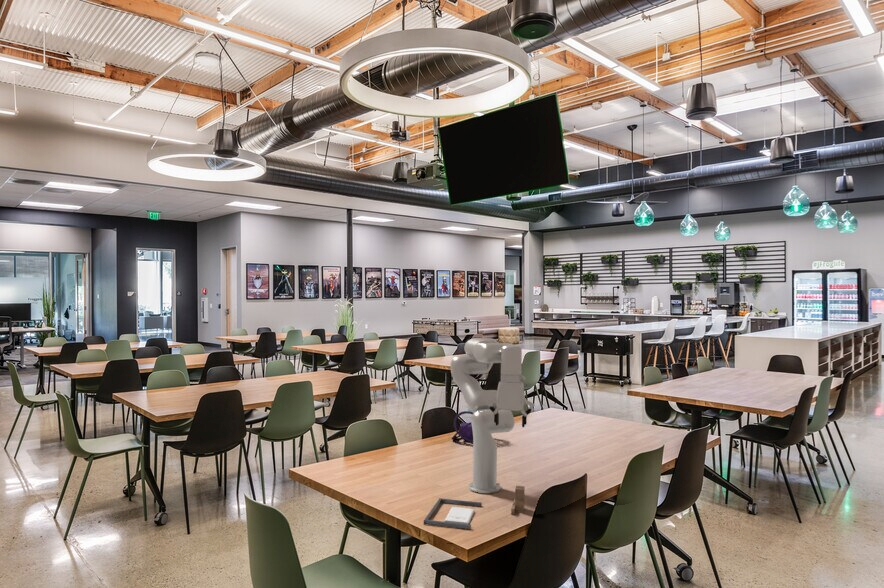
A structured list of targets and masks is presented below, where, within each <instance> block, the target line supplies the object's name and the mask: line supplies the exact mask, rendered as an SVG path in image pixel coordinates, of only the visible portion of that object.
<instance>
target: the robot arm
mask: <svg viewBox="0 0 884 588" xmlns="http://www.w3.org/2000/svg"><path fill="white" fill-rule="evenodd" d="M463 349H464V352H465V354H463V355H456V356H455V357H453V358H452V359H451V361H450V373H451V376H452V378H453V381H454V383H455V384H456V386H457V387H458V389H460V392H461V393H462V395H463V399H464V401H465V403H466V405H467V406H468V407H467V406H466V407H467V409H469V410H470V411H471V412H472V413H473V414H471V417H470V422H471V423H472V430H473V443H472V444H473V449H472V451H473V452H472V455H473V456H472V482H470V483H469V484H468V489H469V490H470V491H472V492H474V493H477V492H478V494H495V493H497V492H498V493H499V491H500V490H501V485H500V484H499V483H498V482H497V466H498V463H497V462H498V457H497V456H498V455H497V454H498V445H497V441H496V440H495V439H494V436H493V435H492V434H501V433H508V432H511V431H512V430H513V429H514V427H515V417H514V415H513V412H512V411H514V412H515V411H516V412H520V413H521V414H522V417H521V425H522V426H521V427H522V428H525V427H526V425H527V416H528V415H530V413H531V412H532V410H533V409H534V407H535V403H533V402H532V401H530V400H528V399H526V397H525V396H526V395H525V393H526V392H525V384H524V382H522V381H526V376H525V375H522V360H523V359H522V357H523V355H522V347H521V346H520V345H516V344H513V343H509V342H498V341H497V340H496V339H494V338H491V337H490V338H489V337H485V338H483V337H482V338H480V337H479V338H476V337H475V338H471V339H468V340H467V341H466V342H465V344H464V347H463ZM493 364H500V381H498V385H497V389H488V390H487V389H483V388H482V387H481V384H480V382H479V381H478V380H477V379H476V378H475V377H473V376H471V375H484V374H485V375H486V374H487V373H489V371H491V369H492V367H493ZM526 405H528V406H529V407H528V409H527V410H526V409H525V406H526Z"/></svg>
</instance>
